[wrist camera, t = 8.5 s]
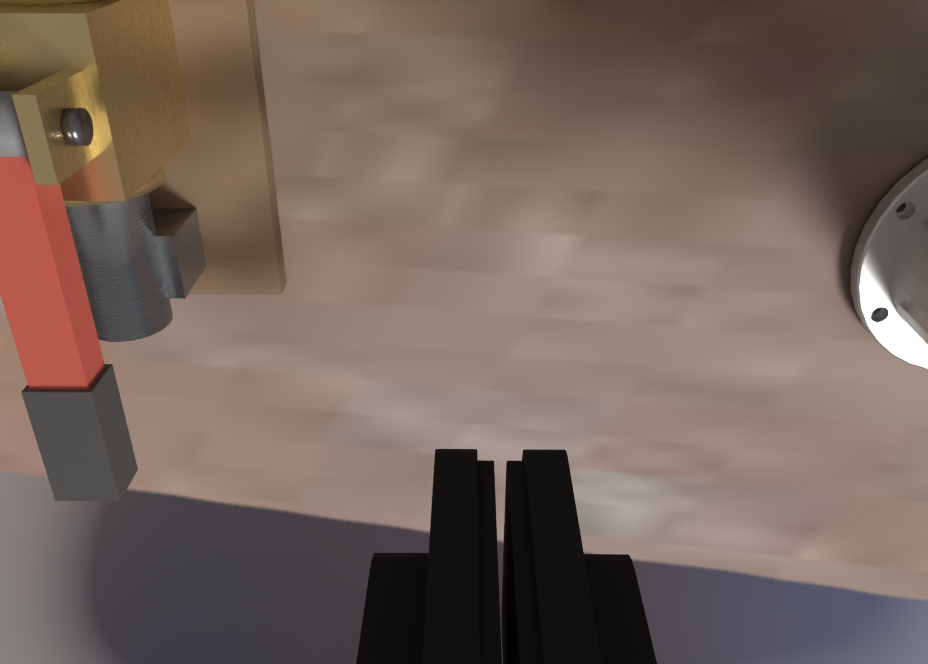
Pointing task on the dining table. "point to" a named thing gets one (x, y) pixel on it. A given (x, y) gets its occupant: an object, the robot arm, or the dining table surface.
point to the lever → (57, 334)
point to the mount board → (225, 149)
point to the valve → (107, 146)
